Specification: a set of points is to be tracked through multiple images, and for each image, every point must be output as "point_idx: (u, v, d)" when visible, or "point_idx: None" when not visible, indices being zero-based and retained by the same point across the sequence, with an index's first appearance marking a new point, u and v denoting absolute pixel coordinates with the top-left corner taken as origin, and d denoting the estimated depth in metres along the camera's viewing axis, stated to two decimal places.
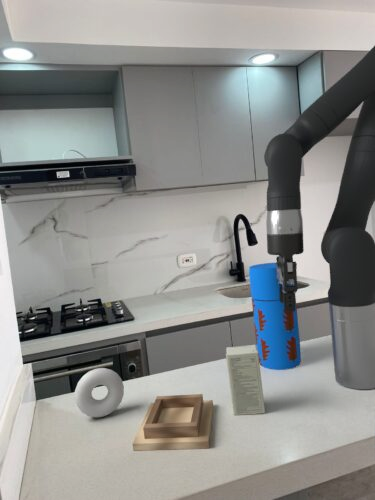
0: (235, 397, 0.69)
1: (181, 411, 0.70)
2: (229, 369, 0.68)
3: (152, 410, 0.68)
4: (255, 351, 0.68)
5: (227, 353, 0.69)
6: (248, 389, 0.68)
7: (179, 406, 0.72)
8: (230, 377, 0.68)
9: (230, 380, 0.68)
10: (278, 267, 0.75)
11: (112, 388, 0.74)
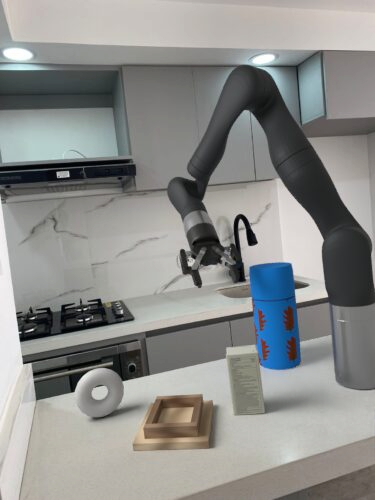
0: (235, 397, 0.69)
1: (181, 411, 0.70)
2: (229, 369, 0.68)
3: (152, 410, 0.68)
4: (255, 351, 0.68)
5: (227, 353, 0.69)
6: (248, 389, 0.68)
7: (179, 406, 0.72)
8: (230, 377, 0.68)
9: (230, 380, 0.68)
10: None
11: (112, 388, 0.74)
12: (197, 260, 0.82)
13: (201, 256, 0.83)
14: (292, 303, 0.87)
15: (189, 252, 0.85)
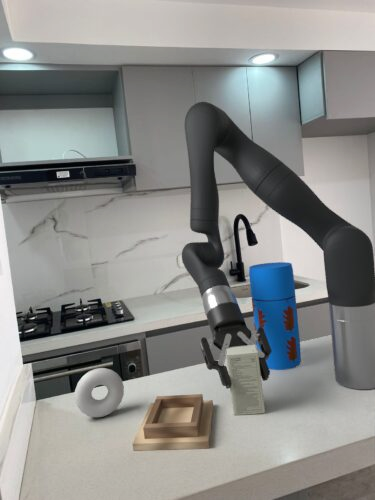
0: (235, 397, 0.69)
1: (181, 411, 0.70)
2: (229, 369, 0.68)
3: (152, 410, 0.68)
4: (255, 351, 0.68)
5: (227, 353, 0.69)
6: (248, 389, 0.68)
7: (179, 406, 0.72)
8: (230, 377, 0.68)
9: None
10: None
11: (112, 388, 0.74)
12: (223, 353, 0.71)
13: (227, 346, 0.72)
14: (292, 303, 0.87)
15: (211, 340, 0.74)
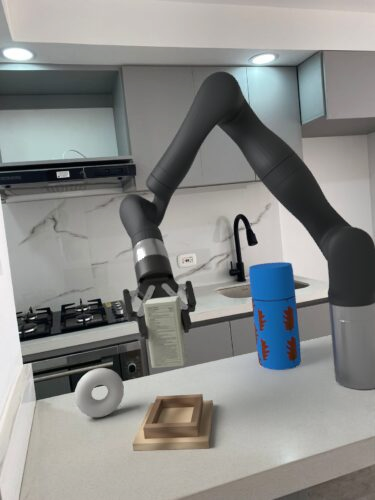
0: (153, 349, 0.65)
1: (181, 411, 0.70)
2: (146, 319, 0.65)
3: (152, 410, 0.68)
4: (174, 300, 0.64)
5: (145, 302, 0.65)
6: (166, 340, 0.65)
7: (179, 406, 0.72)
8: (147, 327, 0.65)
9: (148, 331, 0.65)
10: None
11: (112, 388, 0.74)
12: None
13: (148, 298, 0.68)
14: (292, 303, 0.87)
15: (135, 292, 0.70)
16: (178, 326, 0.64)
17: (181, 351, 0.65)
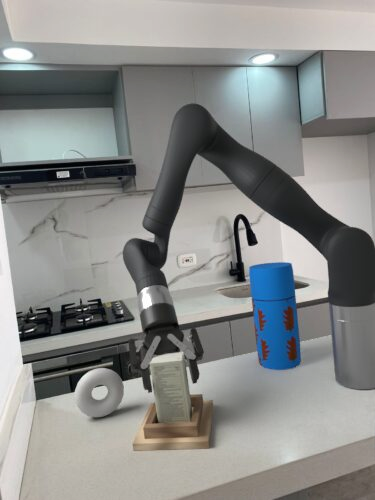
0: (160, 408, 0.65)
1: None
2: (153, 378, 0.65)
3: (152, 410, 0.68)
4: (180, 359, 0.65)
5: (151, 361, 0.66)
6: (173, 398, 0.65)
7: None
8: (154, 386, 0.65)
9: (154, 389, 0.65)
10: None
11: (112, 388, 0.74)
12: (148, 355, 0.67)
13: (153, 349, 0.68)
14: (292, 303, 0.87)
15: (140, 342, 0.71)
16: (184, 385, 0.65)
17: (188, 409, 0.65)
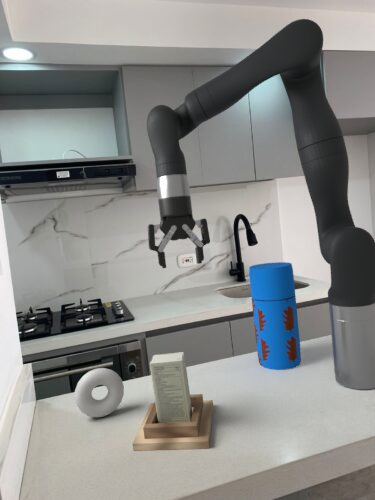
0: (160, 408, 0.65)
1: None
2: (153, 378, 0.65)
3: (152, 410, 0.68)
4: (180, 359, 0.65)
5: (151, 361, 0.66)
6: (173, 398, 0.65)
7: None
8: (154, 386, 0.65)
9: (154, 389, 0.65)
10: None
11: (112, 388, 0.74)
12: (165, 242, 0.82)
13: (169, 237, 0.82)
14: (292, 303, 0.87)
15: (158, 226, 0.82)
16: (184, 385, 0.65)
17: (188, 409, 0.65)
